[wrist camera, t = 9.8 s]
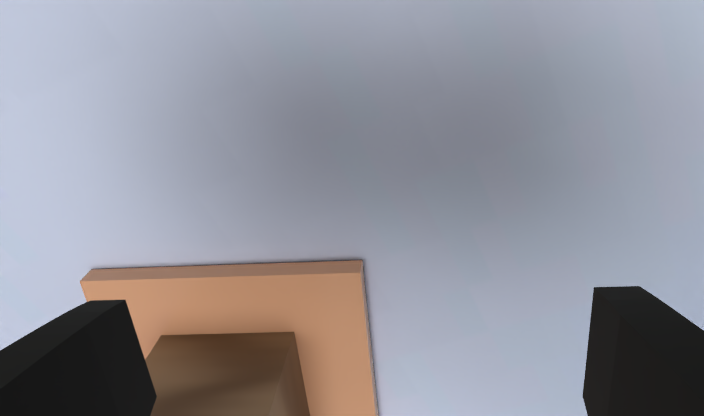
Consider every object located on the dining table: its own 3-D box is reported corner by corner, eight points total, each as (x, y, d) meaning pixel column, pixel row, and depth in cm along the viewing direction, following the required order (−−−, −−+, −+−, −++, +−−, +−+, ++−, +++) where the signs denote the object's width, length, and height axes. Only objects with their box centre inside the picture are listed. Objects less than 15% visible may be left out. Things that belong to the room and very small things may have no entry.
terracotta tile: (362, 260, 19) (360, 272, 18) (383, 465, 23) (383, 482, 22) (91, 269, 20) (79, 281, 19) (158, 462, 24) (150, 478, 24)
